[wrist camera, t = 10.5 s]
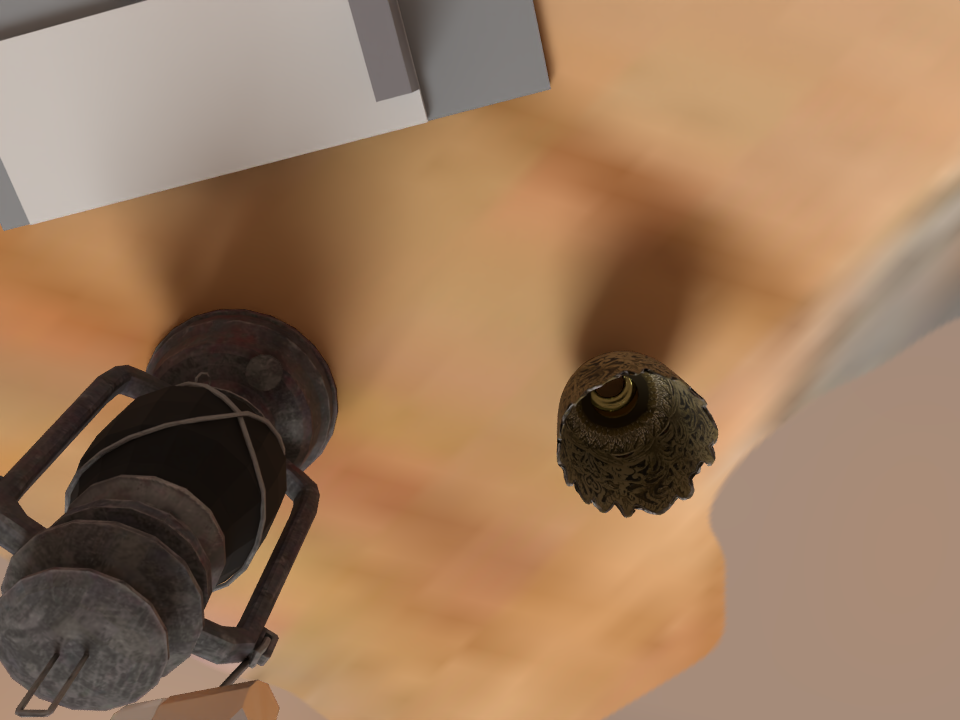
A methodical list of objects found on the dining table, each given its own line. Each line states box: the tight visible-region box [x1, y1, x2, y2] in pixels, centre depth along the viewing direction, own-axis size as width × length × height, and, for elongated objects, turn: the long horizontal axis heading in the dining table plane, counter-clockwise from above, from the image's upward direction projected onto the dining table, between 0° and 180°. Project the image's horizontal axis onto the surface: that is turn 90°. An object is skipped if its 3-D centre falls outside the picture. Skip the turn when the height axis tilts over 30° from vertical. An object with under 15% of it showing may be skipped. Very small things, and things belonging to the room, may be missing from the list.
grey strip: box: [0, 0, 428, 225], centre depth 35 cm, size 20×8×6 cm, turn 104°
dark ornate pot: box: [557, 351, 718, 518], centre depth 40 cm, size 8×7×8 cm
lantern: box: [0, 309, 338, 717], centre depth 30 cm, size 12×11×30 cm
